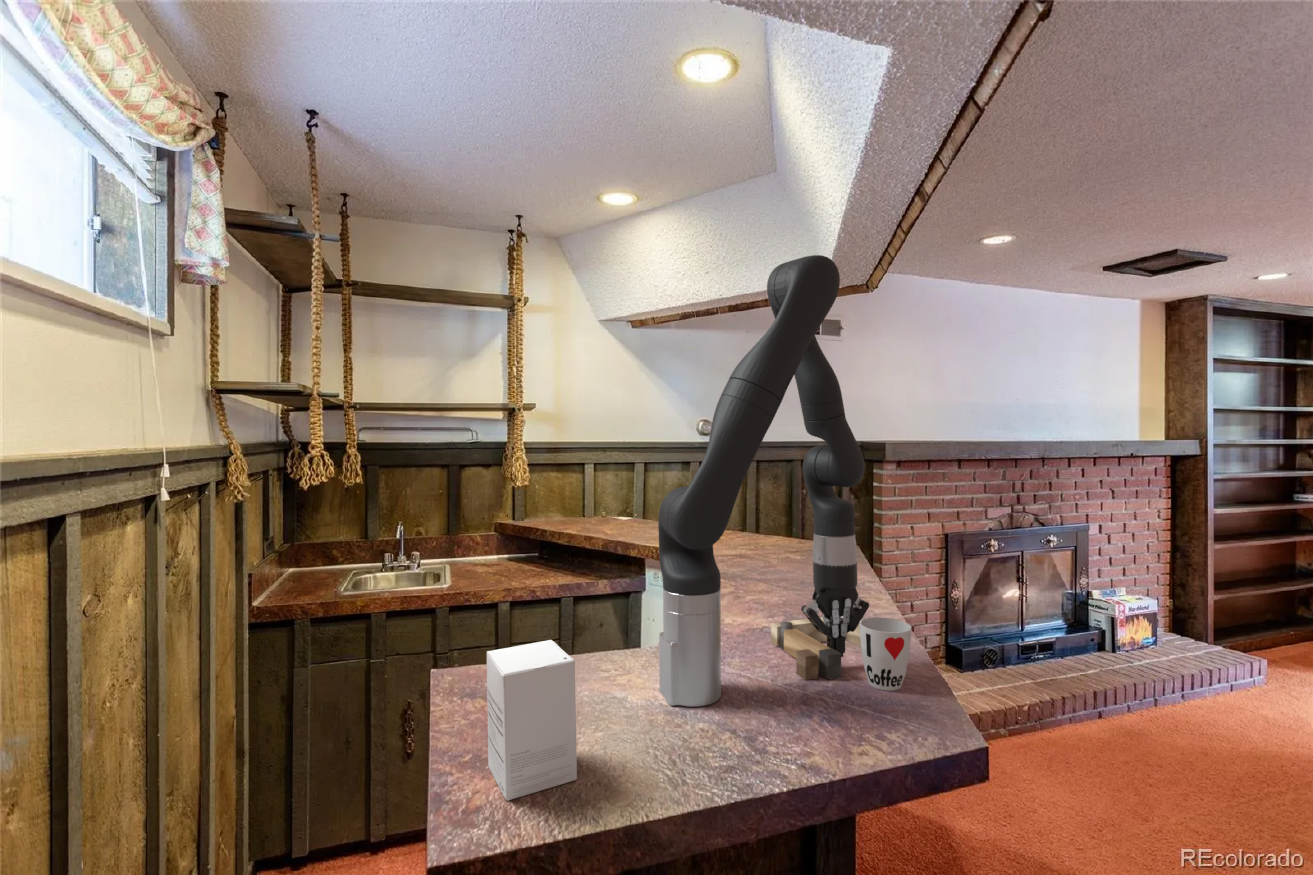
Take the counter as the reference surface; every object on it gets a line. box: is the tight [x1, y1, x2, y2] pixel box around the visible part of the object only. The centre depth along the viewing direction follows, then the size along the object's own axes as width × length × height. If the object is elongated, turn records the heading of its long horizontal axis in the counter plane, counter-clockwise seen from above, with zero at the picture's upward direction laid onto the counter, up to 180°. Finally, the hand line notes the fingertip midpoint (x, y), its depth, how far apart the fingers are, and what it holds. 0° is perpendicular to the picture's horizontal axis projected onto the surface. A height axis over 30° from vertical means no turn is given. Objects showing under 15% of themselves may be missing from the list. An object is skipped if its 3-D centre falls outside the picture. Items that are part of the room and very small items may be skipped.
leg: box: [780, 621, 842, 680], centre depth 114 cm, size 3×16×5 cm, turn 20°
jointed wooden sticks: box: [770, 616, 861, 681], centre depth 117 cm, size 21×18×4 cm
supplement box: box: [486, 639, 578, 801], centre depth 78 cm, size 9×9×15 cm
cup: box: [859, 616, 912, 692], centre depth 104 cm, size 8×8×10 cm
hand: (836, 656), depth 111 cm, fingers closed
